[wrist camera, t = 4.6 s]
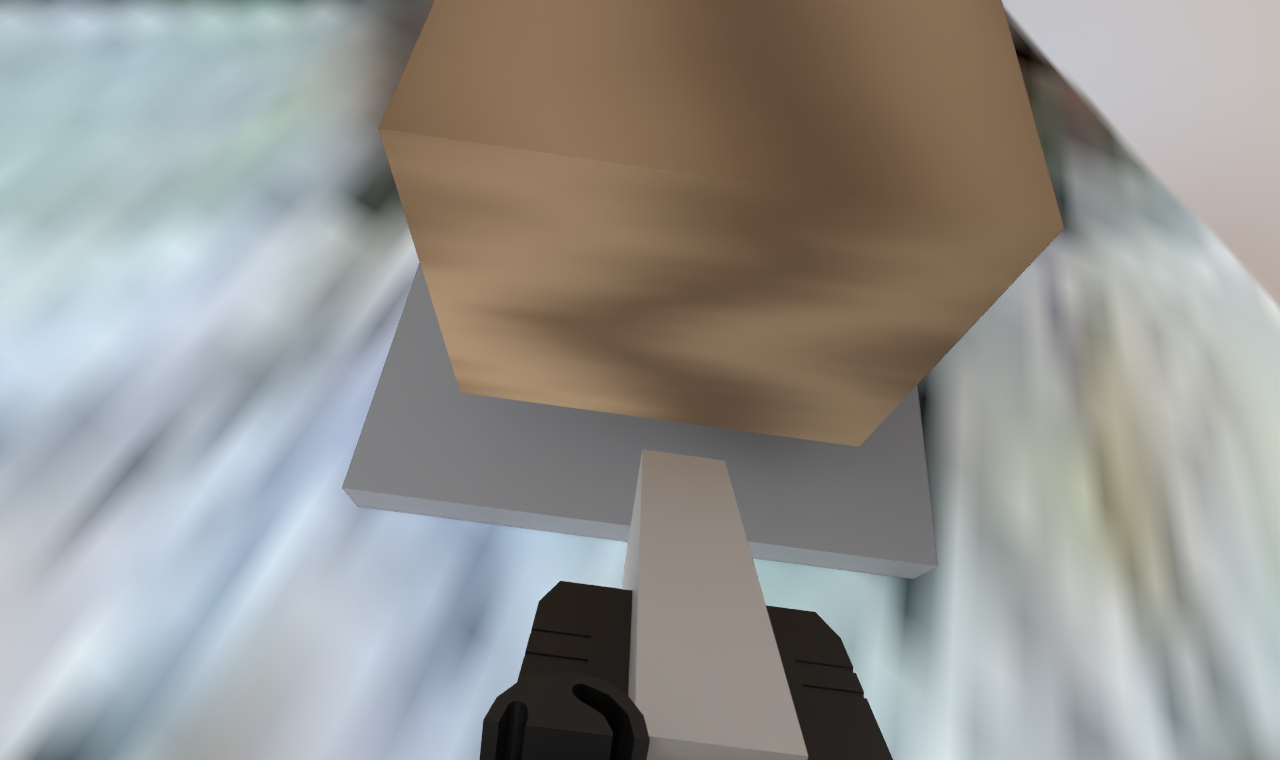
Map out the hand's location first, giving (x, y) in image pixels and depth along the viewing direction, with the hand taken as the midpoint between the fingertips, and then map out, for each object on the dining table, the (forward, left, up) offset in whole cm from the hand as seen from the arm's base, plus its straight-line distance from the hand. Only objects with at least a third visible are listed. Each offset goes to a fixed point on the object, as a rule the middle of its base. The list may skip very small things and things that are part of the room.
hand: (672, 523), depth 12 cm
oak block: (0, +10, -5) cm, 11 cm away
